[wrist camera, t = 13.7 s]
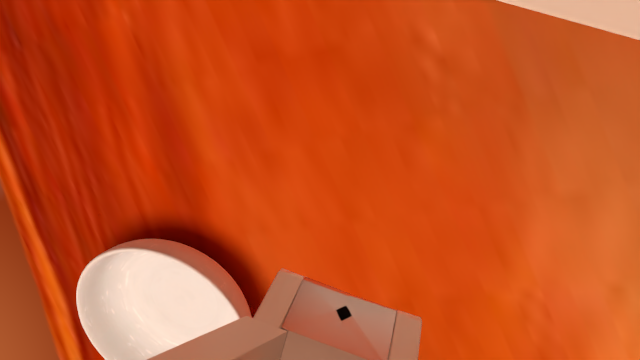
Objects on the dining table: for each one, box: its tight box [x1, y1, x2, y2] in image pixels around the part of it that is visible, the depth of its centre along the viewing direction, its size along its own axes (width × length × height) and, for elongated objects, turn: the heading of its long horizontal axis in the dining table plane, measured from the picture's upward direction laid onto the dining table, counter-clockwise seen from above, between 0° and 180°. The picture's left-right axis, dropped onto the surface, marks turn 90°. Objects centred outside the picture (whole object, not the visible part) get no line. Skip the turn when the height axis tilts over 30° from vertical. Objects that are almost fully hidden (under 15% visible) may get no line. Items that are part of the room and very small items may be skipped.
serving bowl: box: [76, 239, 252, 360], centre depth 60 cm, size 21×21×7 cm
